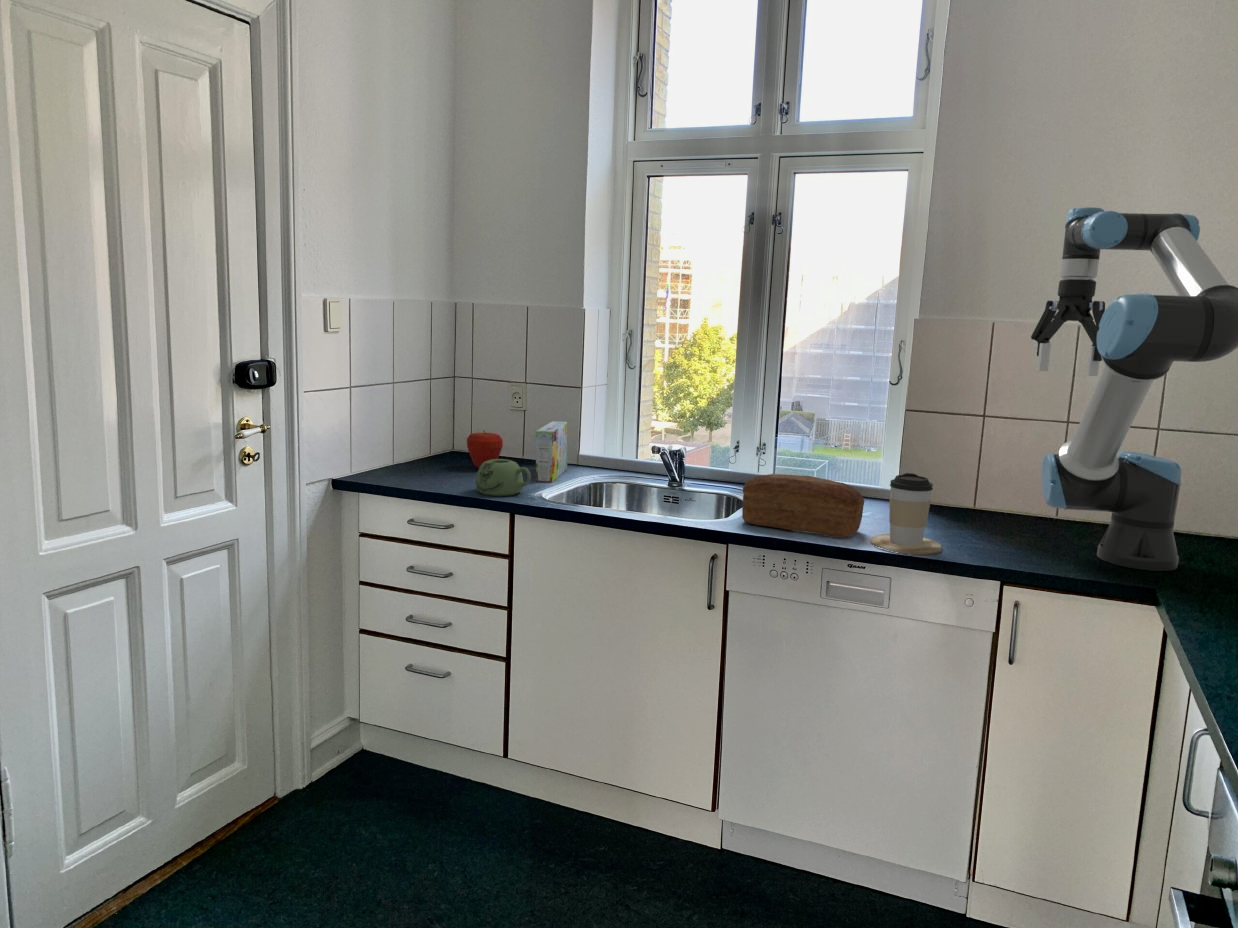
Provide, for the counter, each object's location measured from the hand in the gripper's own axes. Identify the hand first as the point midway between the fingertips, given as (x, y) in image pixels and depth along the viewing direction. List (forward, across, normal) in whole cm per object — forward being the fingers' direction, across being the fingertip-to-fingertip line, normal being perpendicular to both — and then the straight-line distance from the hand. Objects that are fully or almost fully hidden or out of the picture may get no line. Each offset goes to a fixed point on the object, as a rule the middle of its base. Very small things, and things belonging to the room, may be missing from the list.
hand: (1066, 373), depth 203 cm
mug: (+39, +76, +112) cm, 141 cm away
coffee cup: (+38, +2, +40) cm, 55 cm away
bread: (+39, +23, +54) cm, 70 cm away
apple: (+39, +111, +109) cm, 160 cm away
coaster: (+39, +2, +40) cm, 56 cm away
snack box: (+39, +97, +92) cm, 139 cm away
